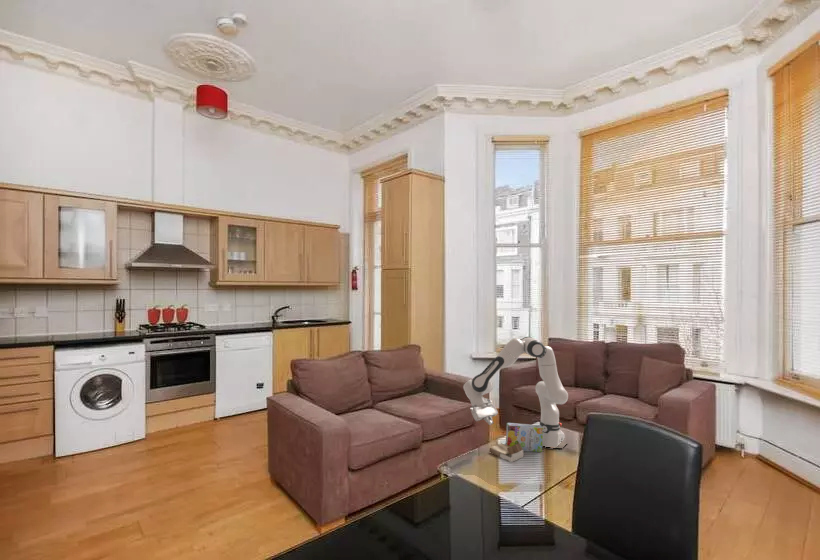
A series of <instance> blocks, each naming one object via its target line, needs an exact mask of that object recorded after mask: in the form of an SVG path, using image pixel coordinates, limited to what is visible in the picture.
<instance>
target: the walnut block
mask: <svg viewBox="0 0 820 560" xmlns="http://www.w3.org/2000/svg"><path fill="white" fill-rule="evenodd" d="M507 450H508V452H509V454H510V455H512V454H514V453H517V452H519V451H522V450H523V449H522V447H521V445H520V443H518V444H515V445H513V446H511V447H509V448H507Z"/></svg>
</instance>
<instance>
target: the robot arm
mask: <svg viewBox="0 0 820 560" xmlns="http://www.w3.org/2000/svg"><path fill="white" fill-rule="evenodd" d="M522 354H527V355H529V356H530V357H533V358H537V365H538V370H539V371H538V372H539V376H540V379H541V381H538V382H537V383H536V384H535V393H536V394H537V396H538V400H539V404H540V421H539V425H541V426H542V427H543V440H542V447H543V446H545V447H544V448H546V447H557V446H558V445H559V444H560V443H561V442H562V441H563V440H564V438H565V439H566V435H565V433H564V432H563V431H562V430H561V427H562V423H561V422H560V410H559V408H558V407H557V405H564V404H566V403H567V401H568V399H569V393H568V391H567V390H566V389H565V387H564V385H563V384H562V381H561V379H560V376H559V374H558V366H557V362H556V361H557V360H556V357H555V352H554V349H553V348H552V347H551V346H548V345H544V343H542V342H541V341H540V340H539V339H537V338H534V337H532V336H524V337H522V338H520V339H519V338H517V337H515V338H512V339H511V340H509V341H508V342H507V343H506V344H505V345H504V347H502V349H501V350H500V352H499V353H498V354H497V355H496V357H494V359H493V360H492V361H491V362H489V364H488V365H487V366H486V368H484V370H482V372H481V373H478V374H477V375H475V376H474V377H472V379H468V380H466V381H465V382H464V383H463V386H462V387H463V391H464V393H465V395H466V397H467V398H468V399H469V401H470V404H471V406H470V409H469V410H470V411H471V415H472V417H473V419H474V421H476V422H479V421H481V420H484V421H485V422H486V424H488V425H489V426H491V425H493V424H494V421H493V417H496V416H497V415H498V414H499V412H498V409H497V408H496V406H495V405H494V403H492V402H493V401H492V399H490V398H486V397H484V396H485V395H487V394H490V392H492V390H493V388H494V386H493V382H492V380H491V379H492V378H493V377H494V376H495V375H496V374H497V372H499V370H502V369H505V368H510V367H511V366H512V365H514V364H515V362H516V361H517V360H518V359H519V358H520V356H521V355H522Z"/></svg>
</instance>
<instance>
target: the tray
mask: <svg viewBox="0 0 820 560" xmlns="http://www.w3.org/2000/svg"><path fill="white" fill-rule="evenodd" d="M499 458H502V459H503V460H506V461H508V462H510V463H512V462H514V461H517V460H520V459H522V458H524V451H523V450H521V451H519V452H517V453H514V454H512V455H510V454H509V453H508V454H505V455H504V454H502V453H500V457H499Z"/></svg>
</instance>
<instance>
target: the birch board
mask: <svg viewBox="0 0 820 560" xmlns="http://www.w3.org/2000/svg"><path fill="white" fill-rule="evenodd" d="M509 447H510V446H507V445H506V443H499V444H496V445H493V446H490V447H489V452H491V453H490V454H492V453H493V454H492V455H495V456H496V457H499V458H501V457H500V453H502V454H504V455H505V454H508V453H509V452H508V450H507V448H509Z"/></svg>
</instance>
